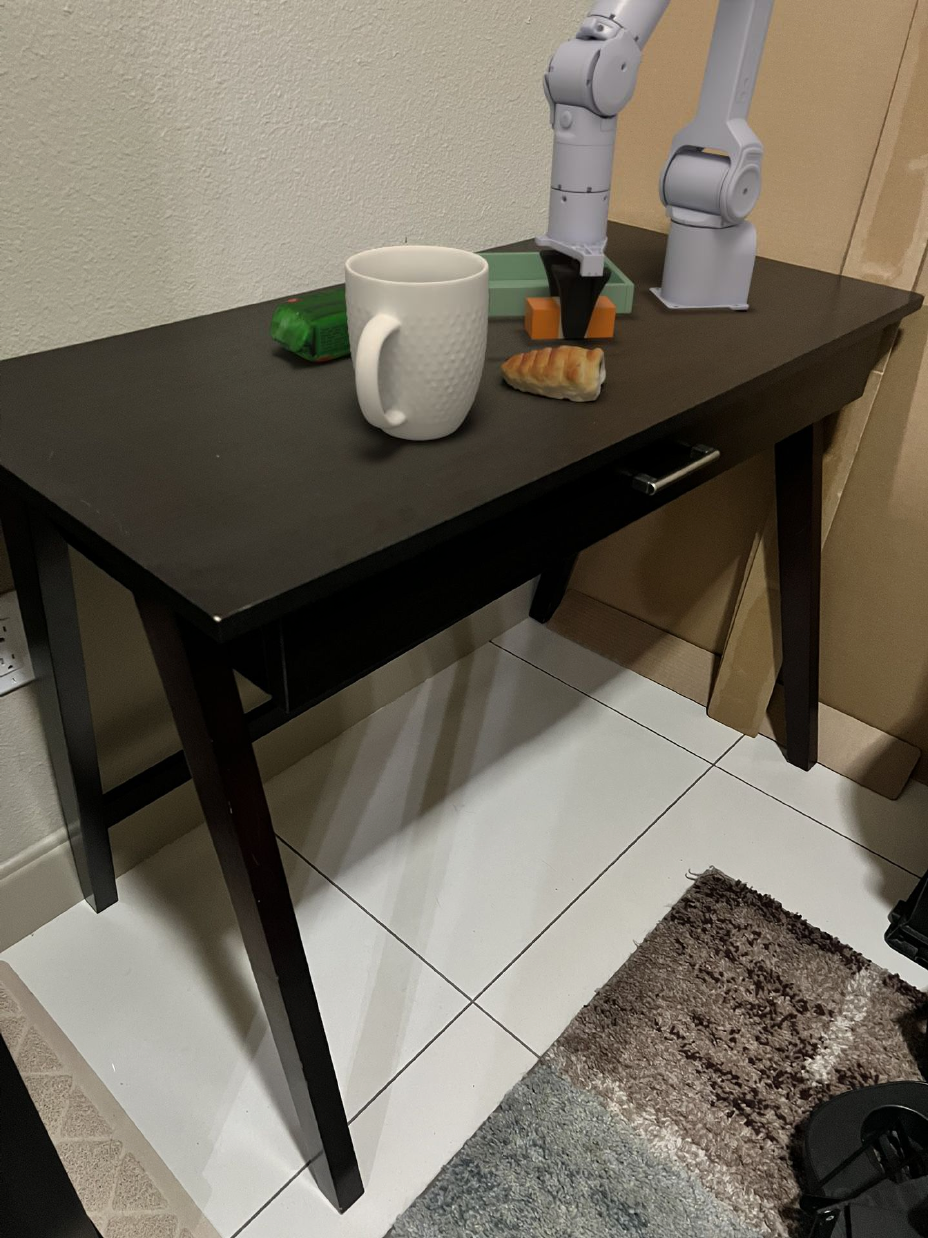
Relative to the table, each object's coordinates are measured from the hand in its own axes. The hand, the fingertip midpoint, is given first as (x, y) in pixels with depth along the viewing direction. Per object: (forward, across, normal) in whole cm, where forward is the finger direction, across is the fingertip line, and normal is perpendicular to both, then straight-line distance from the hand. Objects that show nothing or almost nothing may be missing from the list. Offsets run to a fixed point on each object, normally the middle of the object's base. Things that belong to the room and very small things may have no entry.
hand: (568, 329), depth 96 cm
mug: (+1, +22, -18) cm, 28 cm away
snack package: (+1, +1, -23) cm, 23 cm away
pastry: (+1, +14, -4) cm, 15 cm away
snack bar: (+1, 0, 0) cm, 1 cm away
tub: (+1, -13, 0) cm, 13 cm away
